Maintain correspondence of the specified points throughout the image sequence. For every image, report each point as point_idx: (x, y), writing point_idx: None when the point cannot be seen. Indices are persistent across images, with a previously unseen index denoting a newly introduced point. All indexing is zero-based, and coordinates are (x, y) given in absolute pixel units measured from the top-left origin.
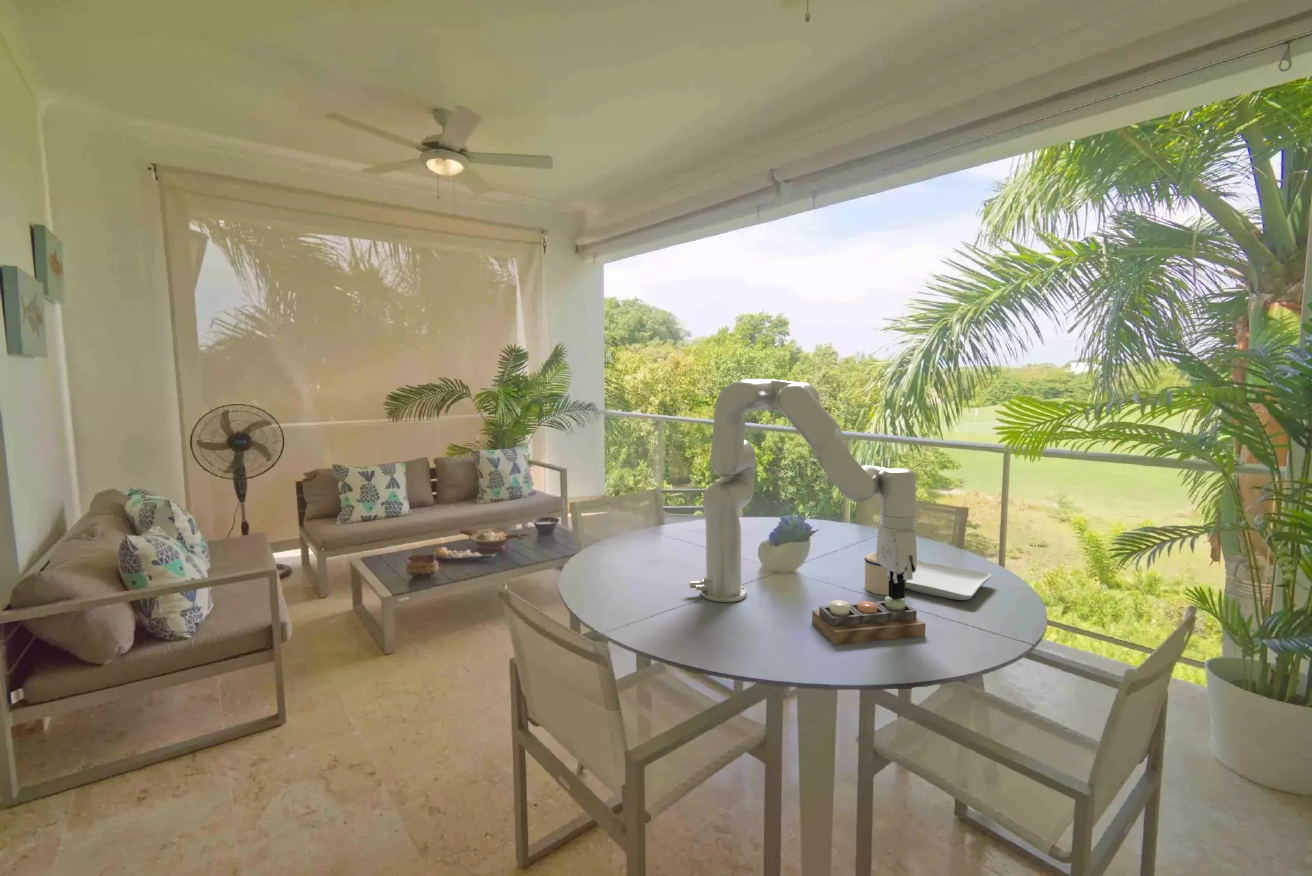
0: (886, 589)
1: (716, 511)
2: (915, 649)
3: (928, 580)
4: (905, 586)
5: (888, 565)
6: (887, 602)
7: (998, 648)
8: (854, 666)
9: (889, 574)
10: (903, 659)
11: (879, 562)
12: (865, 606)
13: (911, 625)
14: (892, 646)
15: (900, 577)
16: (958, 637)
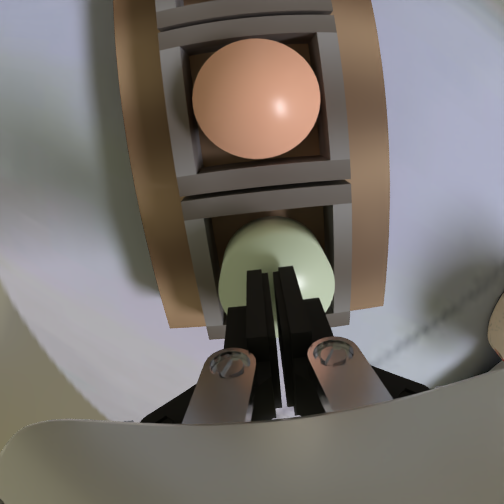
0: (501, 320)
1: None
2: (82, 224)
3: None
4: (490, 371)
5: (205, 481)
6: (260, 233)
7: (125, 413)
8: (8, 13)
9: (329, 379)
10: (24, 159)
11: (490, 391)
12: (229, 73)
13: (155, 272)
14: (98, 152)
15: (149, 422)
16: (176, 378)
